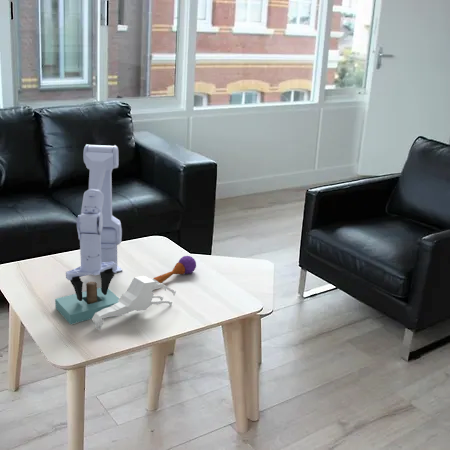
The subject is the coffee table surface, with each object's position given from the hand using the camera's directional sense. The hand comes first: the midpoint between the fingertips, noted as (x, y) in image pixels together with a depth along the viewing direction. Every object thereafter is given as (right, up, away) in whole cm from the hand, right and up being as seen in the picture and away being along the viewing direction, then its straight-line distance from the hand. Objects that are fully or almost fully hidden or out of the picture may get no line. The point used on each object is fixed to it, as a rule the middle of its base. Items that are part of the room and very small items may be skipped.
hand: (92, 296), depth 184 cm
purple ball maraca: (+21, +3, +22) cm, 31 cm away
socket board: (-1, -4, +1) cm, 4 cm away
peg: (0, -4, +1) cm, 4 cm away
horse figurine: (+12, -6, -1) cm, 14 cm away
